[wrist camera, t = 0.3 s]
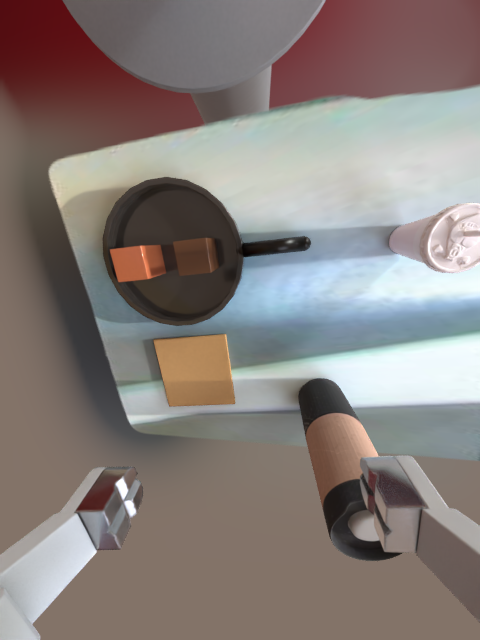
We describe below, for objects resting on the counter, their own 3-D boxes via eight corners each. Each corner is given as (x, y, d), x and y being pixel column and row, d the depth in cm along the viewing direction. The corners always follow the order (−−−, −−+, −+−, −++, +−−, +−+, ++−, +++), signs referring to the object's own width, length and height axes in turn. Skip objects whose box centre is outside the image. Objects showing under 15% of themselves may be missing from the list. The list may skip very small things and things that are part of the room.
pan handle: (236, 244, 33) (234, 244, 31) (309, 235, 32) (311, 235, 30) (237, 257, 33) (236, 258, 31) (309, 249, 32) (312, 250, 30)
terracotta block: (134, 248, 34) (109, 249, 29) (160, 244, 34) (140, 245, 28) (140, 275, 36) (118, 282, 30) (166, 272, 35) (148, 279, 29)
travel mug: (329, 420, 42) (387, 571, 23) (289, 405, 41) (313, 545, 22) (352, 386, 39) (437, 524, 20) (309, 370, 39) (355, 493, 20)
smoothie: (440, 224, 31) (577, 211, 17) (411, 271, 33) (514, 292, 19) (395, 205, 30) (498, 179, 17) (369, 254, 32) (443, 264, 19)
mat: (154, 339, 39) (153, 340, 39) (225, 333, 38) (225, 335, 37) (170, 404, 43) (169, 406, 43) (235, 402, 42) (235, 404, 41)
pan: (97, 193, 33) (84, 189, 30) (235, 172, 31) (233, 166, 28) (132, 324, 39) (123, 330, 36) (250, 315, 37) (249, 320, 34)
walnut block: (187, 241, 33) (172, 241, 28) (215, 238, 33) (206, 237, 27) (192, 270, 35) (179, 276, 29) (219, 267, 34) (211, 272, 29)
